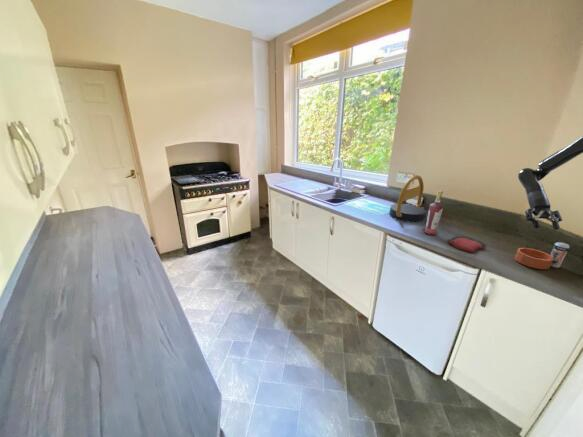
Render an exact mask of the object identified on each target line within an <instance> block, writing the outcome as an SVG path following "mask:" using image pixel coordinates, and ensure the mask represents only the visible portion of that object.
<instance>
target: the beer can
mask: <svg viewBox="0 0 583 437" xmlns="http://www.w3.org/2000/svg"><path fill="white" fill-rule="evenodd" d="M569 250H570V244H568V243H567V242H561V241H557V242H555V243H554V245H553V247H552V250H551V252H550V254H549V255H551V256H552V257H553V258H554V259H553V261H552V264H551V266H550V268H551V267H552V268H555V269H557V268H561V265H562V263H563V261H564V259H565V258H566V256H567V253H568V251H569Z"/></svg>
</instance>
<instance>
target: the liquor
mask: <svg viewBox="0 0 583 437" xmlns="http://www.w3.org/2000/svg"><path fill="white" fill-rule="evenodd" d="M443 192H444V191H443V190H440V189H439V190H437V192H436V197H435V200H434V202H432V203H430V204H429V208H428V211H427V218H426V222H425V223H426V224H425V227H424V228H425V229H424V230H423V231H424V233H425V234H426V233H427V234H426V235H429V234H431V235H430V236H434V235H436V234H437V229H438V226H439V222H440V220H441V216H442V213H443V210H444V207H445V206H444V205H443V204H442V203H441V200H442V195H443Z"/></svg>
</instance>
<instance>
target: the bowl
mask: <svg viewBox="0 0 583 437" xmlns="http://www.w3.org/2000/svg"><path fill="white" fill-rule="evenodd" d="M553 259H554V258H553V257H552V256H551V255H550V254H549V253H547V252H544V251H542V250H539V249H535V248H530V247H518V248H517V250H516V253H515V255H514V260H515V261H516V262H518V263H519V264H521V265H523V266H526V267H528V268H531V269H536V270H549V269H550V268H551V264H552V261H553Z"/></svg>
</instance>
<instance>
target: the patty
mask: <svg viewBox="0 0 583 437" xmlns="http://www.w3.org/2000/svg"><path fill="white" fill-rule="evenodd" d="M447 243H448V245H450V244H451V245H450V246H452V245H453V246H452V247H454V248H455V247H456V248H455V249H457V248H458V249H457V250H459V249H461V250H460V251H463V250H464V251H463V252H466V253H468V252H469V253H468V254H475V253H476V252H477V251H479V250H483V249H484V245H483V244H482V243H480V242H477V241H475V240H473V239H470V238H467V237H457V238H454V239H453V240H449V241H448V242H447Z"/></svg>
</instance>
